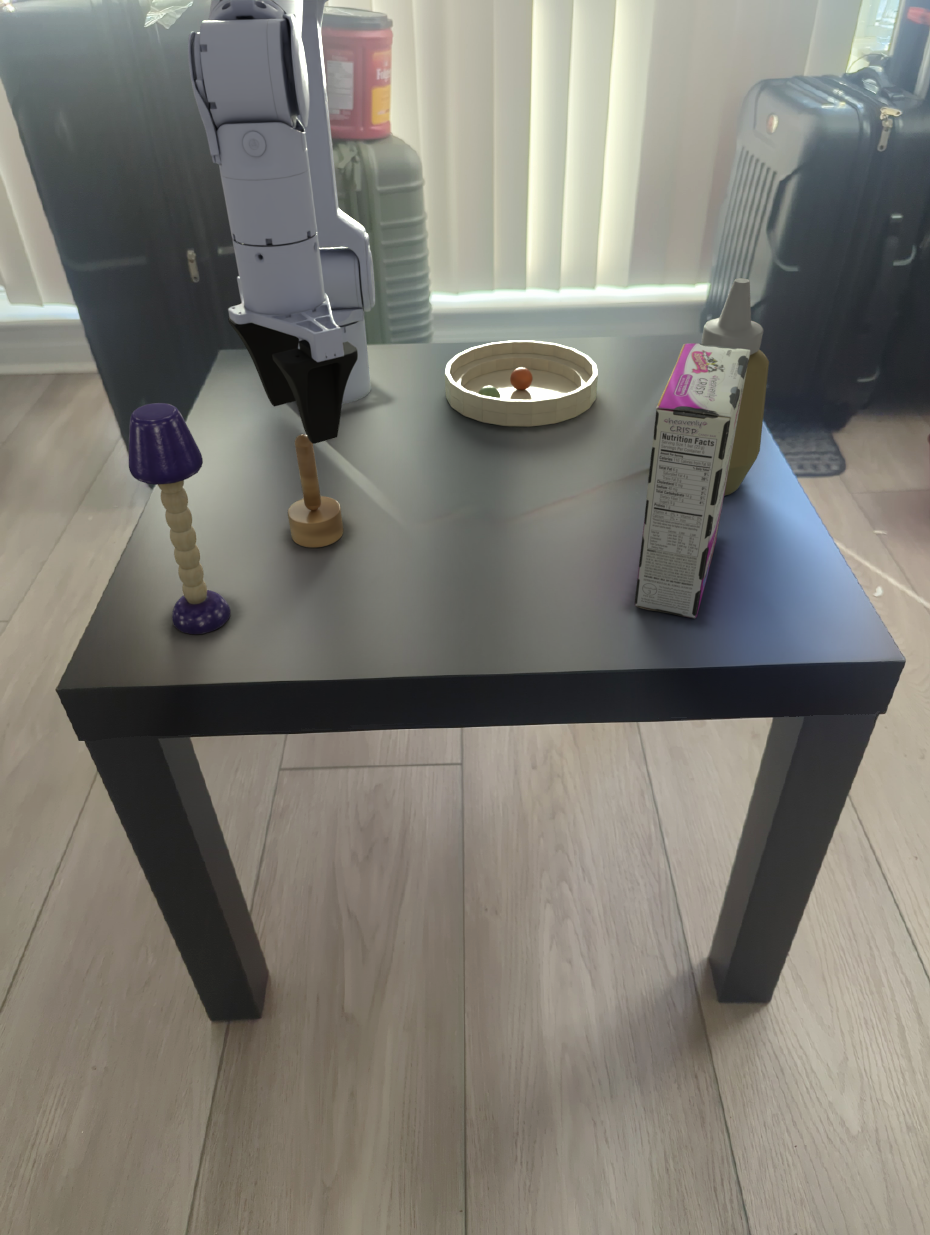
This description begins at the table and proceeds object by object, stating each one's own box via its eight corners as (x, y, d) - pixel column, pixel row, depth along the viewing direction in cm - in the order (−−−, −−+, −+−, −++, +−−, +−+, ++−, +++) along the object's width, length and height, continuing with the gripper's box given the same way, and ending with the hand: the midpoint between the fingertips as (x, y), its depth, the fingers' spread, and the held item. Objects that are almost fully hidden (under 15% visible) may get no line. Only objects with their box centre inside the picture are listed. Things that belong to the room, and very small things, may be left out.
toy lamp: (229, 591, 67) (180, 389, 56) (246, 625, 63) (197, 417, 53) (167, 610, 65) (105, 405, 54) (181, 645, 62) (117, 434, 51)
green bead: (494, 408, 87) (473, 410, 88) (505, 408, 89) (485, 410, 90) (492, 384, 86) (471, 387, 88) (503, 384, 88) (483, 387, 90)
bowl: (420, 391, 95) (418, 361, 92) (537, 359, 101) (538, 330, 99) (499, 448, 84) (499, 415, 82) (625, 408, 90) (629, 376, 88)
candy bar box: (656, 531, 72) (683, 339, 62) (716, 541, 70) (754, 347, 60) (628, 609, 64) (654, 404, 53) (696, 622, 62) (736, 414, 52)
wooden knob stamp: (299, 518, 75) (283, 421, 69) (348, 520, 74) (336, 423, 68) (285, 546, 71) (266, 447, 66) (336, 549, 71) (322, 449, 65)
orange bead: (521, 362, 93) (520, 384, 94) (505, 368, 91) (505, 389, 93) (537, 367, 91) (536, 389, 92) (522, 373, 90) (521, 395, 91)
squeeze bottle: (707, 453, 82) (741, 258, 71) (771, 489, 77) (819, 284, 65) (642, 476, 79) (667, 276, 68) (704, 515, 74) (742, 305, 62)
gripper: (184, 221, 61) (222, 399, 70) (257, 273, 51) (291, 472, 60) (276, 206, 64) (302, 379, 72) (363, 252, 54) (380, 446, 63)
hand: (303, 420), depth 66 cm, fingers open, 7 cm apart
